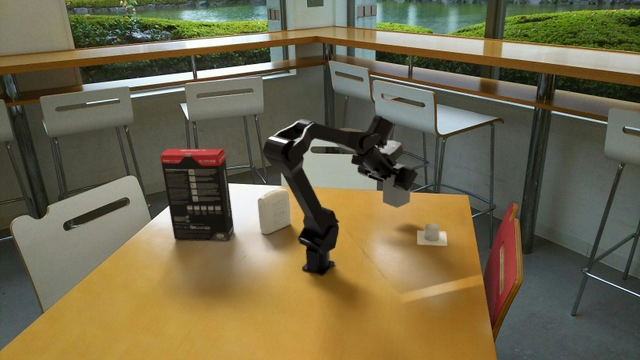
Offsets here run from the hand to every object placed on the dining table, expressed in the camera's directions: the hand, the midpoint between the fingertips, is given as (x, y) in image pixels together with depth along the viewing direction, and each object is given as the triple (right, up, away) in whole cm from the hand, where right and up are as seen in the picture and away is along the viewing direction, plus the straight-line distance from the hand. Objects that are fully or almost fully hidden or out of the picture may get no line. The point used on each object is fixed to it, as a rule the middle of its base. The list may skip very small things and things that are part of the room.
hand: (399, 185), depth 141 cm
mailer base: (+8, -16, -7) cm, 19 cm away
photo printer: (-37, -13, +6) cm, 40 cm away
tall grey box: (-1, -5, +1) cm, 5 cm away
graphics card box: (-58, -16, +2) cm, 60 cm away
